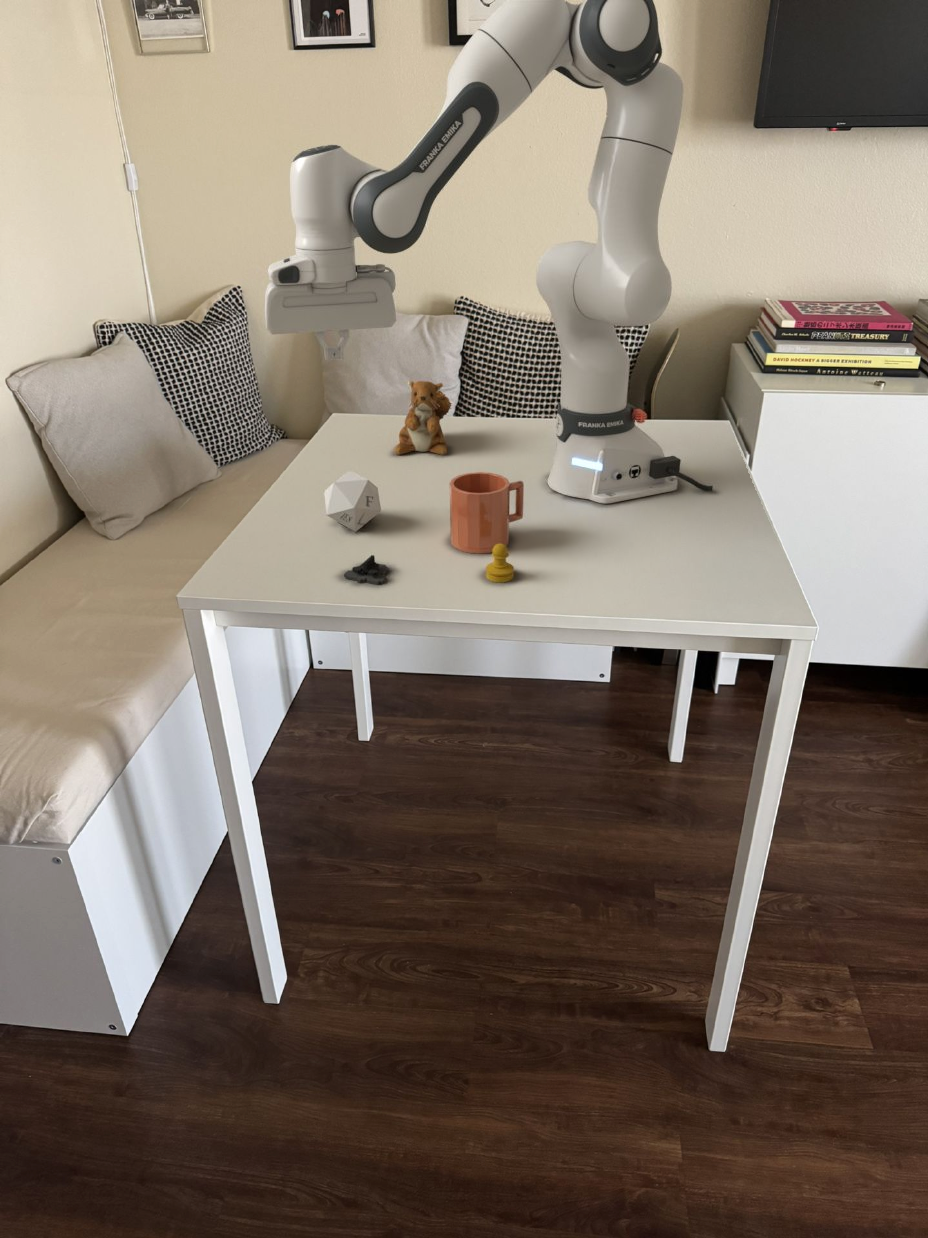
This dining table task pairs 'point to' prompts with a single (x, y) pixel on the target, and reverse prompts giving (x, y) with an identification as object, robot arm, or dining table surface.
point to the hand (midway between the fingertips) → (334, 358)
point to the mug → (482, 511)
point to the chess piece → (499, 565)
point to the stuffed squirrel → (424, 420)
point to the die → (352, 501)
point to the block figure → (368, 572)
